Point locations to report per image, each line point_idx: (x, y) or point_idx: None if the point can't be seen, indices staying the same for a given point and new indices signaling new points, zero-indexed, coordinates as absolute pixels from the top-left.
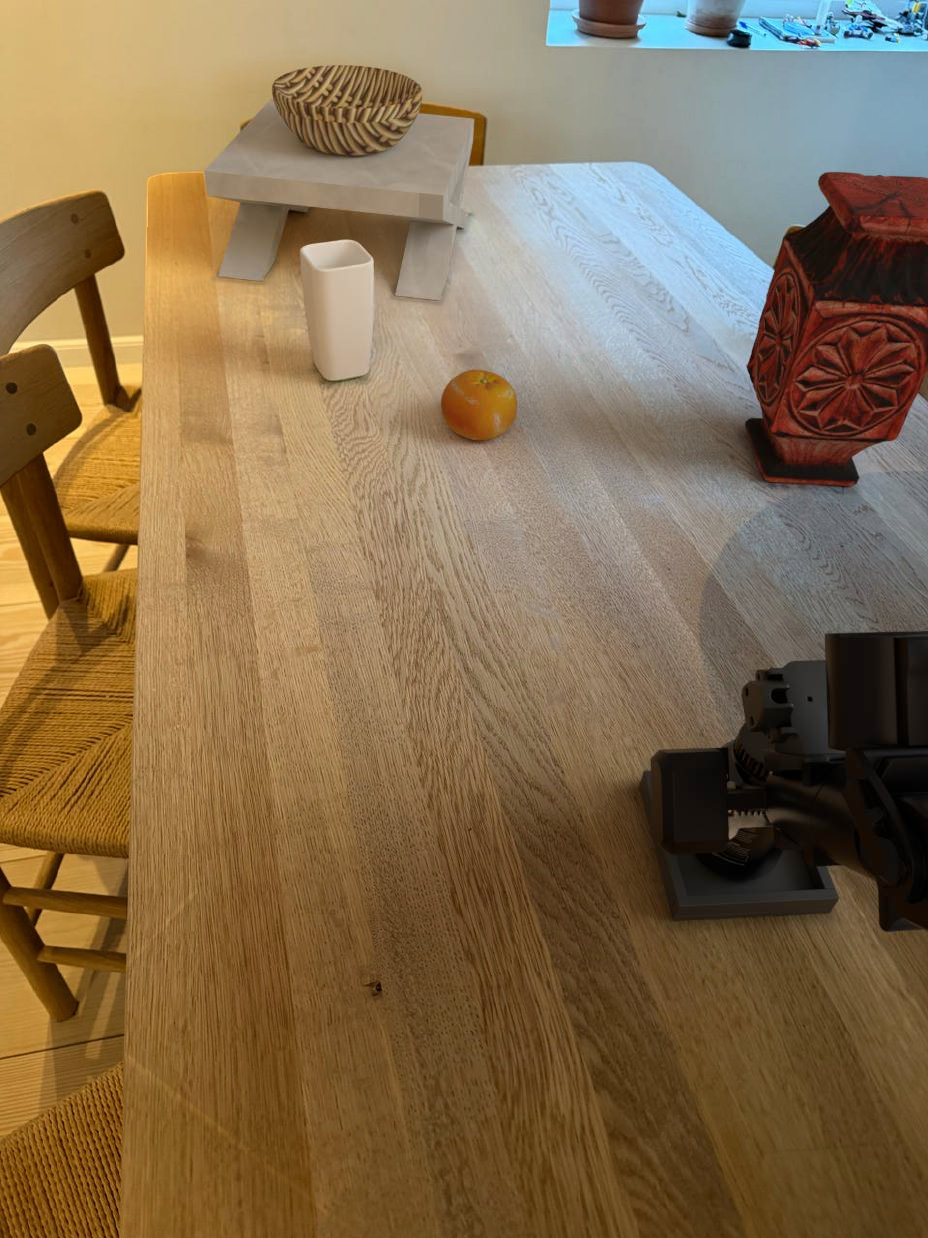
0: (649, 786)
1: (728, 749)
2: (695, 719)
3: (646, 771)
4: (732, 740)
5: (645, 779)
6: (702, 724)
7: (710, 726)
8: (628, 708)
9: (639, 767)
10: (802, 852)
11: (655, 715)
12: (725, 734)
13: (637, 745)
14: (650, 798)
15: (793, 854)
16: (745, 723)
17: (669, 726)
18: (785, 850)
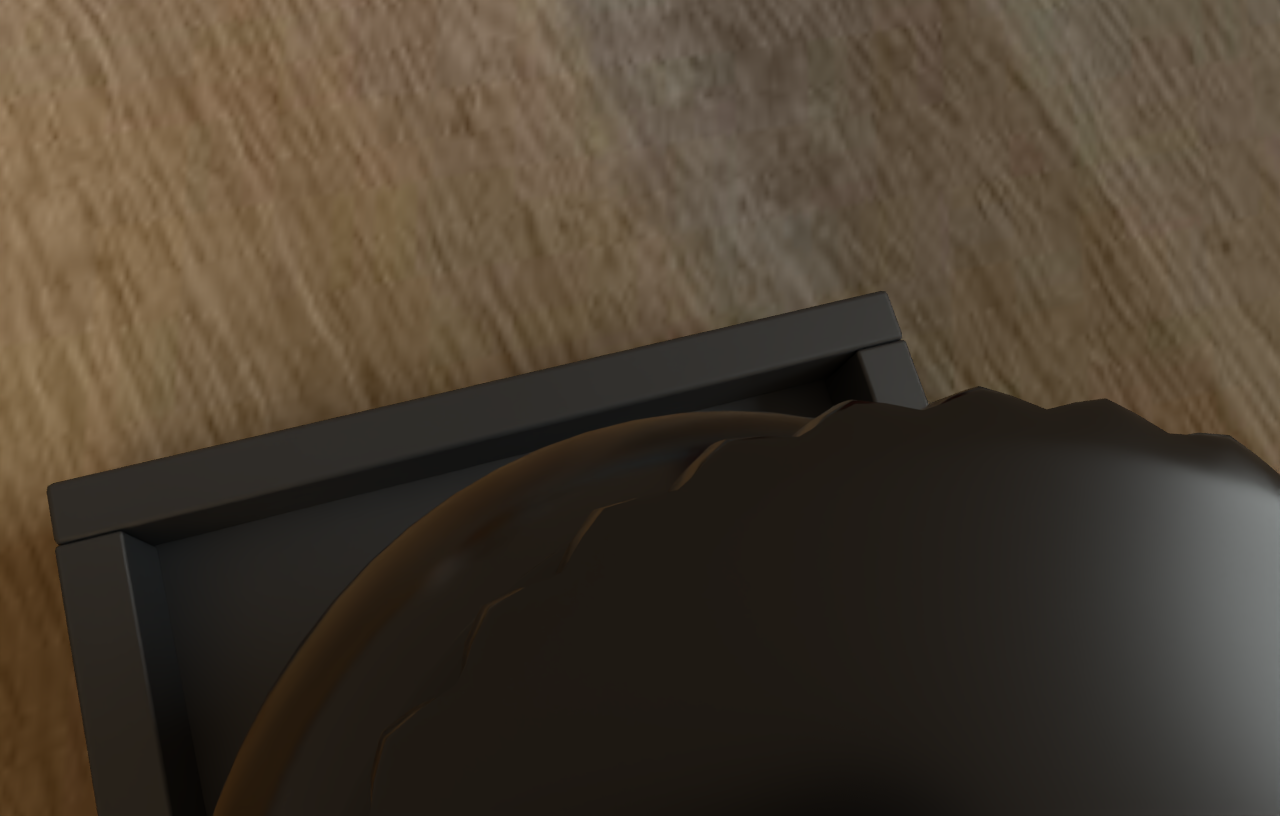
0: (75, 600)
1: (339, 782)
2: (435, 41)
3: (63, 487)
4: (428, 553)
5: (58, 544)
6: (470, 65)
7: (510, 72)
8: (75, 19)
9: (116, 382)
10: None
11: (224, 43)
12: (583, 107)
13: (113, 242)
14: (79, 689)
15: None
16: (412, 747)
17: (297, 99)
18: None
